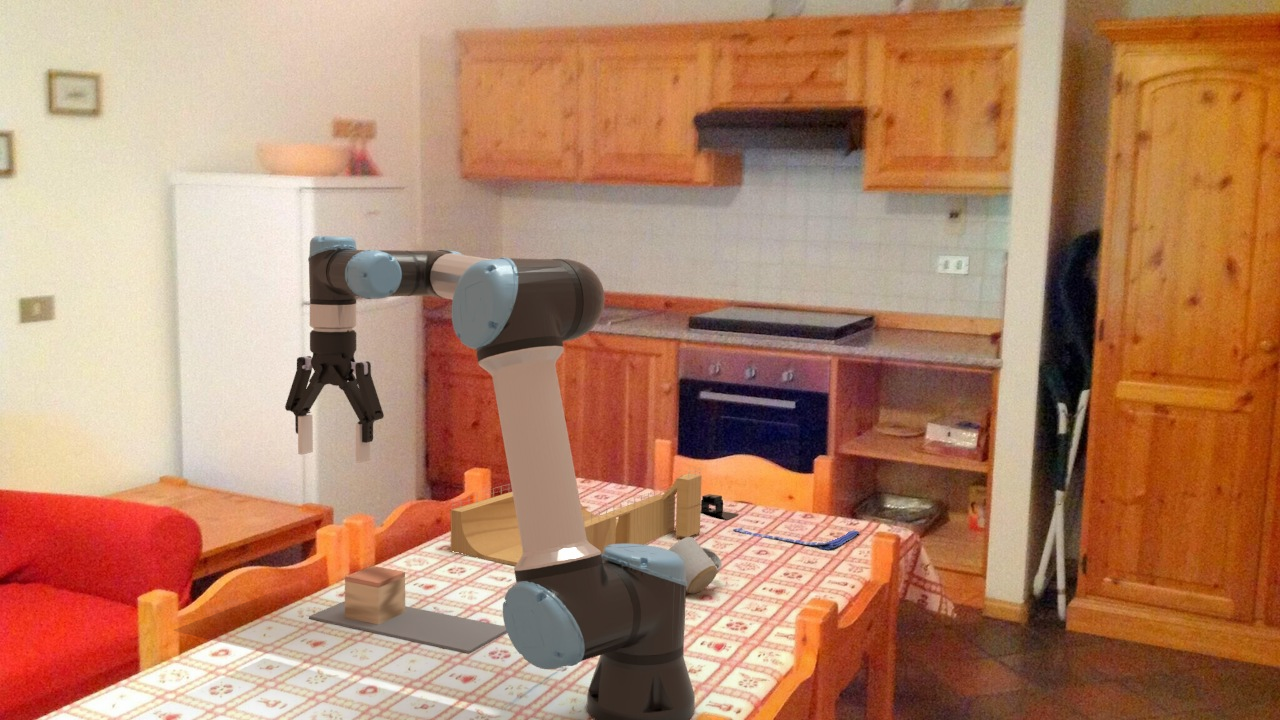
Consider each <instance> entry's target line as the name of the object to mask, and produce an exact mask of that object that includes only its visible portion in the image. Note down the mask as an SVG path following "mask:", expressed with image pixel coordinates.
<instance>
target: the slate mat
mask: <svg viewBox="0 0 1280 720" xmlns="http://www.w3.org/2000/svg"><path fill="white" fill-rule="evenodd" d="M308 619H310V620H314V621H319V622H323V623H328V624H332V625H337V626H342V627H346V628H350V629H351V628H352V629H356V630H360V631H365V632H369V633H375V634H377V635H382V636H388V637H391V638H392V637H393V638H397V639H402V640H406V641H410V642H414V643H419V644H423V645H429V646H433V647H439V648H443V649H448V650H452V651H456V652H461V653H466V654H471V653H473V652H474V651H476V650H478V649H480V648H481V647H483V646H485V645H487V644H488V643H490V642H492V641H494V640H495V639H497V638H499V637H500V636H502V635H504V634H507V631H506V627H505V625H501V624H495V623H491V622H485V621H480V620H475V619H471V618H465V617H461V616H460V617H459V616H455V615H451V614H447V613H446V614H445V613H441V612H437V611H432V610H431V611H430V610H426V609H421V608H416V607H412V606H407V605H405V612H404V613H402V614H400V615H398V616H396V617H394V618H391V619H389V620H387V621H385V622H383V623H381V624H379V625H378V624H374V623H369V622H364V621H360V620H355V619H350V618H346V617H345V600H344V601H342V602H339V603H338V604H334V605H333V606H330V607H328V608H327V607H326V608H325V609H323V610H321V611H317V612H315V613H313V614H311V615H308Z"/></svg>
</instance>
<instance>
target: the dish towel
mask: <svg viewBox="0 0 1280 720" xmlns="http://www.w3.org/2000/svg"><path fill="white" fill-rule="evenodd" d="M732 531H733V532H736V533H741V534H745V535H749V536H754V537H759V538H765V539H769V540H779V541H783V542H787V543H792V544H799V545H802V546H807V547H811V548H816V547H817V548H818V549H817V548H816V549H817V550H824V549H825V550H824V551H830V550H833V548H834V549H836V548H837V547H840V546H842V545H843V543H844V544H845V543H847V542H848V540H849V541H850V540H852V539H853V538H856V537H857V536H858V535H857V534H859V531H858V530H849V531H850V532H848V533H847V534H846V535H844V536H842V537H840V538H838V537H836V538H837V539H835V538H834V539H835V540H833V539H831V540H832V541H830V540H828V541H829V542H827V541H824V542H825V543H823V542H818V543H817V541H810V542H809V541H802V540H799V539H791V538H788V537H787V538H786V537H780V536H772V535H769V534H761V533H756V532H751V531H748V530H744V529H743V528H742V527H741V528H733V530H732ZM856 535H857V536H856ZM855 536H856V537H855ZM846 541H847V542H846ZM835 547H836V548H835Z"/></svg>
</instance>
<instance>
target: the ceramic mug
mask: <svg viewBox="0 0 1280 720" xmlns="http://www.w3.org/2000/svg"><path fill="white" fill-rule="evenodd" d="M668 550H670V551H672V552H675V553H677V554H678V555H680V556H681V557H682V559H683V560H684V562H685V572H686V582H687V586H686V593H688V594H691V595H692V594H698V593H700V592H701V591H703V590H705V589H706V588H707V587H708V586H709V585H710V584H711V583H712V582H714V580H715V578H716V576H717V574H718V573H719V572H720V570H721V569H722V566H723V565H722V564H723V563H722V561H721V558H720V557H719V556H718V554H717V553H716V552H714V551H713V550H712V549H709V548H706V547H703V546H701V545H700V544H699V542H698V541H697V540H696V539H695V538H694V537H693V536H689V537H683V538H682V539H680V540H678V541H677V542H675V543H674V544H673V545H671V547H669V549H668Z"/></svg>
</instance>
